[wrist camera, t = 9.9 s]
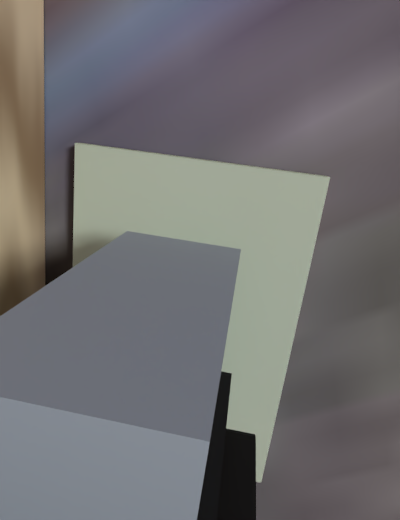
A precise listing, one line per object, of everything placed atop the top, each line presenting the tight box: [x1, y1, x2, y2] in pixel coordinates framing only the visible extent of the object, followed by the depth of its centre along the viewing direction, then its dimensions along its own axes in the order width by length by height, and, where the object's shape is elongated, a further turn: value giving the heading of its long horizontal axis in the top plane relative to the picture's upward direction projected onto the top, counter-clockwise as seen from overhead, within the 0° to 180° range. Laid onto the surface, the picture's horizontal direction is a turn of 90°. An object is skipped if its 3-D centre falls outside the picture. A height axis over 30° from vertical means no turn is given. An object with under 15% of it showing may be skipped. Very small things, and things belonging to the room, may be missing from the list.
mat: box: [73, 143, 330, 483], centre depth 14 cm, size 12×8×1 cm, turn 173°
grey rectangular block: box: [0, 231, 241, 520], centre depth 8 cm, size 8×3×7 cm, turn 173°
